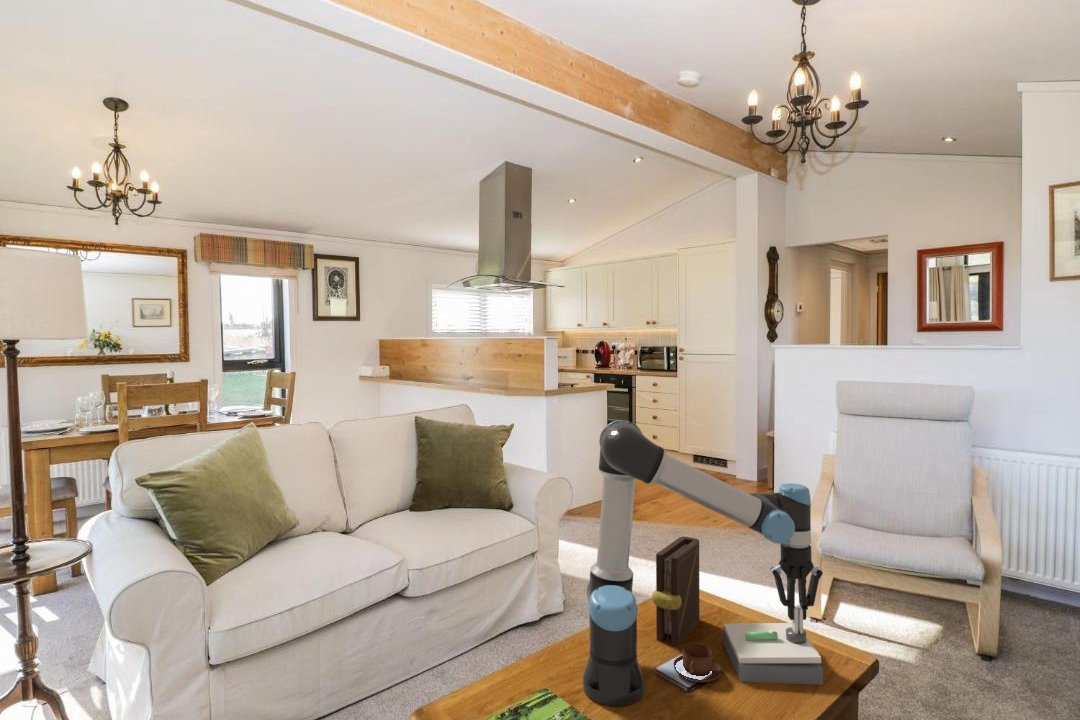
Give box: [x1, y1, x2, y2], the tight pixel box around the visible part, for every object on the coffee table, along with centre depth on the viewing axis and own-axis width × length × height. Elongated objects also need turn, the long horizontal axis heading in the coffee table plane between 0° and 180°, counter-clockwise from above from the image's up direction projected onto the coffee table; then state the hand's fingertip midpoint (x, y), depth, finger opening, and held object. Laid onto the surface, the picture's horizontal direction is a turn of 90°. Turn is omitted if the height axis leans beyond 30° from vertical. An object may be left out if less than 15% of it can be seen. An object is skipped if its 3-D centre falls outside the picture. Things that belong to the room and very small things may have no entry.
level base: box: [722, 626, 824, 686], centre depth 156 cm, size 20×20×4 cm
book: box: [651, 536, 700, 647], centre depth 173 cm, size 22×8×25 cm, turn 144°
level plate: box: [723, 622, 822, 664], centre depth 156 cm, size 20×18×4 cm
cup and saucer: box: [673, 642, 723, 683], centre depth 151 cm, size 12×12×6 cm
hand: (797, 630), depth 156 cm, fingers closed, pressing on level plate
